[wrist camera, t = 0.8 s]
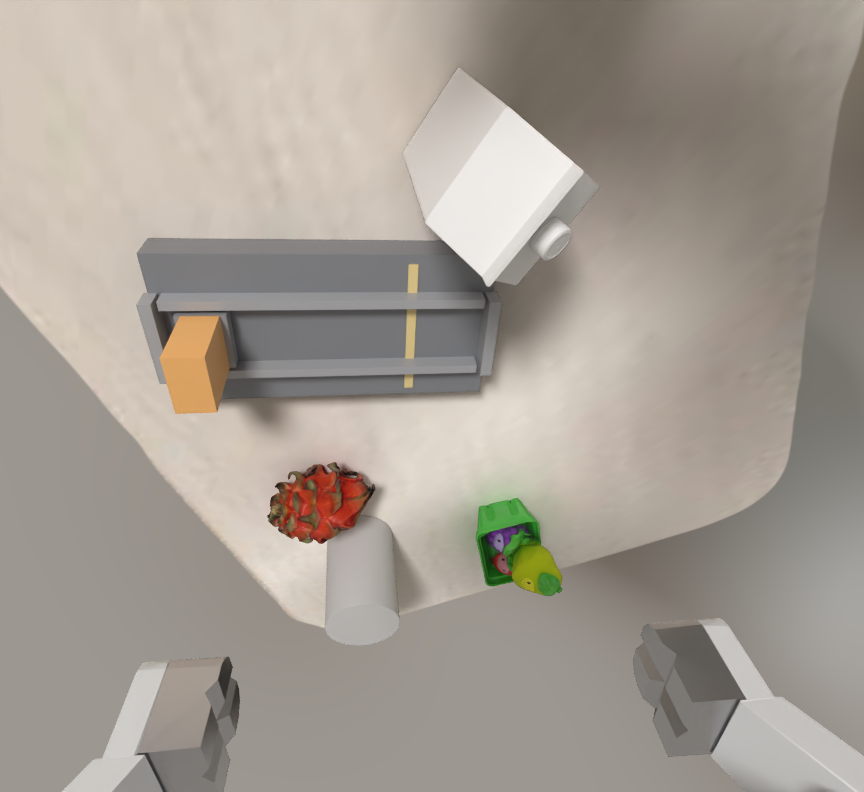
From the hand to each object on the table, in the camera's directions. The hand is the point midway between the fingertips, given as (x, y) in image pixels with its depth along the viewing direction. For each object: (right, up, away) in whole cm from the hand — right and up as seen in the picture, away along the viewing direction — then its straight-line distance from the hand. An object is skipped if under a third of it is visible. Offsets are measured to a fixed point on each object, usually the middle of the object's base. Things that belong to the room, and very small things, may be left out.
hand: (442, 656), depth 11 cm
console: (-9, +13, +39) cm, 42 cm away
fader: (-19, +10, +35) cm, 41 cm away
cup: (-9, -13, +59) cm, 61 cm away
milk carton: (+2, +25, +31) cm, 40 cm away
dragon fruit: (-13, -4, +51) cm, 53 cm away
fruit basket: (+9, -11, +61) cm, 62 cm away
